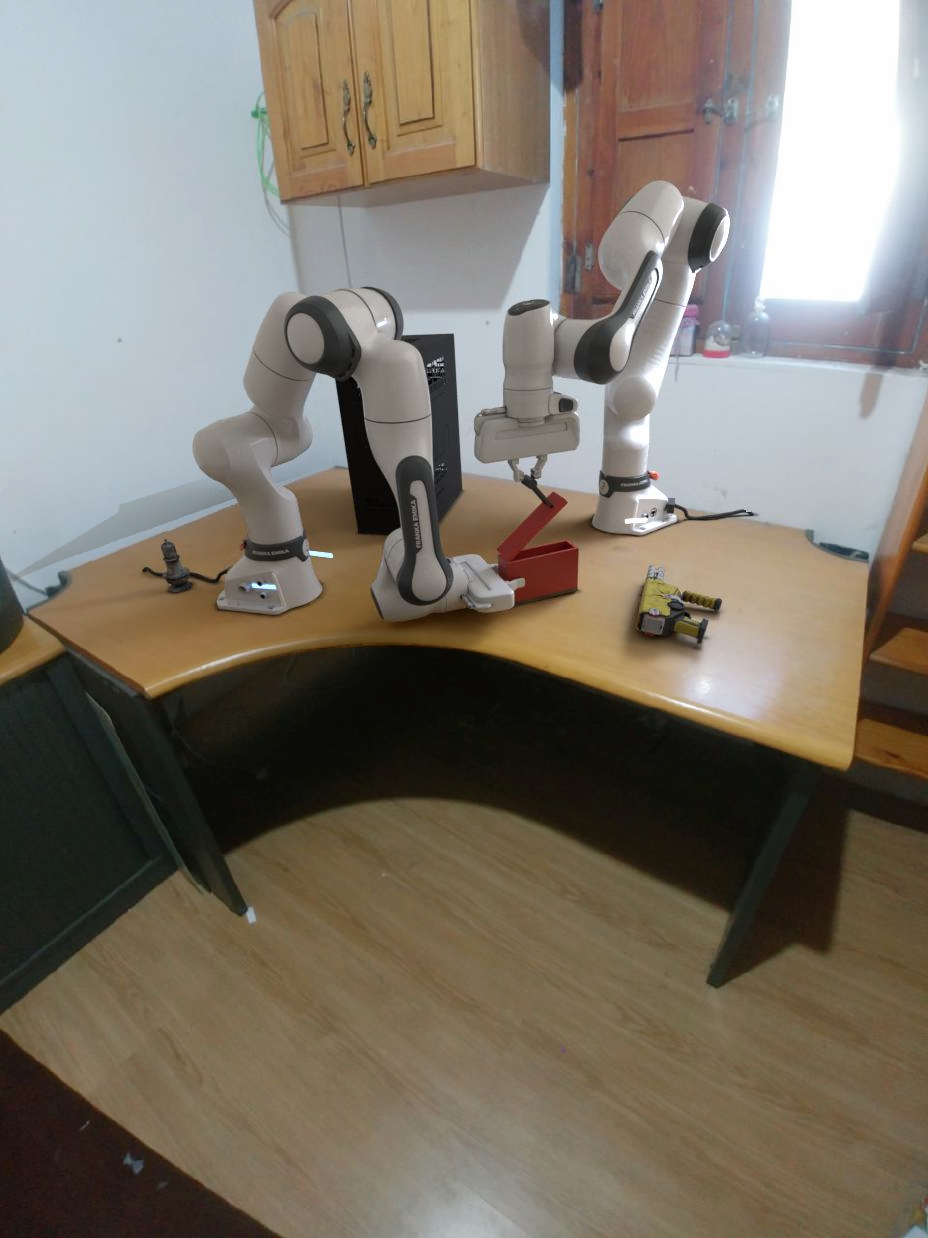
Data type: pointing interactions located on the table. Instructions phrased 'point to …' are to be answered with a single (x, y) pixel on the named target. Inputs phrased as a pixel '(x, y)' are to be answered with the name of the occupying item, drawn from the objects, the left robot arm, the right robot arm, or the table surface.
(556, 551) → the chest
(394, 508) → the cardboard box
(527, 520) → the lid
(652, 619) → the toy gun
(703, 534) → the table surface
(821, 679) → the table surface
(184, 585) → the salt shaker
